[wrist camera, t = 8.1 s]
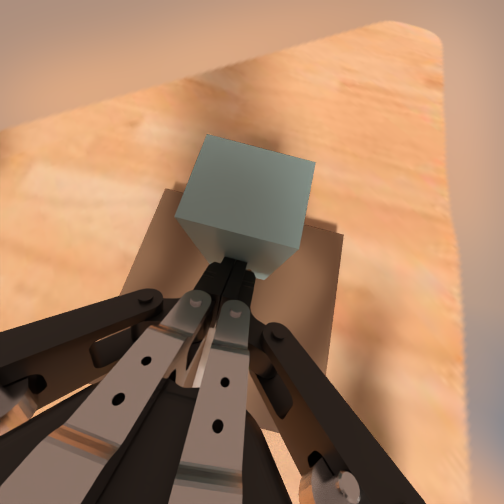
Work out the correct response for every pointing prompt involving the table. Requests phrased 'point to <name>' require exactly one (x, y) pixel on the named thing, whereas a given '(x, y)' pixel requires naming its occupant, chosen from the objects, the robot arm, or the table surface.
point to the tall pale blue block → (246, 204)
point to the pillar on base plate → (264, 295)
